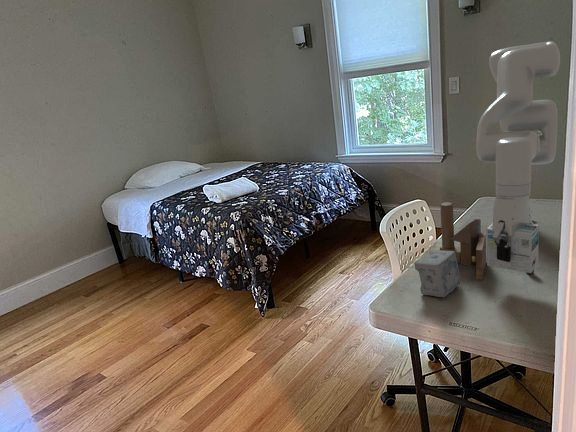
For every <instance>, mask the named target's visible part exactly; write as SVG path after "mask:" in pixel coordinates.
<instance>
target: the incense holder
mask: <svg viewBox="0 0 576 432" xmlns="http://www.w3.org/2000/svg"><path fill="white" fill-rule="evenodd" d="M414 269H415V271H417V272H418V275H419V279H420V287H419V289H420V293H421V295H424V296H432V297H438V298H446V297H447V296H448V295H449V294H452V293H453V291H454V290H455V288H456V287H457V286H458V285H460V284H461V276H460V270H459V265H458V262H457V259H456V253H455V252H454V251H440V249H439V250H433V249H432V250H430V251H429V254H428V255H426V256H425V257H424V258H422V259H420V260H416V261H415V262H414Z"/></svg>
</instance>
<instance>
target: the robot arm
mask: <svg viewBox="0 0 576 432" xmlns="http://www.w3.org/2000/svg"><path fill="white" fill-rule="evenodd" d="M488 60H489V61H488V65H489V69H490V73H491V75H492V77H493V79H494V81H495V83H496V100H494V101H493V102H492V103H491V104H490V105H489V106H488V107H487V108H486V109H485V111H484V112H483V113H482V115H481V117H480V118H479V120H478V124H477V129H476V143H475V144H476V145H475V149H476V151H475V153H476V156H477V158H478V160H479V161H481V162H484V163H495V200H494V203H493V209H492V210H493V212H492V223H493V225H492V232H493V239H494V241H495V243H496V246H497V259H498V260H502V261H506V262H510V261H511V247H509V244H510V241H511V237H513V236H514V235H515V232H516V231H517V230H519V229H520V228H522V227H524V226H525V225H527V224H534V221H532V220H531V219H532V216H531V214H533V209H531V203H530V202H531V200H530V196H531V193H532V192H531V191H532V189H531V188H532V166H533V165H548V164H550V163H552V162H553V161H554V160H555V158H556V154H557V145H558V142H557V141H558V140H557V139H558V119H559V118H558V107H557V104H556V102H555V101H554V100H551V99H537V100H534V99H533V98H534V80H536V79H538V80H539V79H544V78H551V77H554V76H555V75H556V74H557V73H558V72H559V70H560V66H561V52H560V48H559V46H558V45H557V43H556V42H554V41H552V40H551V41H550V40H549V41H542V42H535V43H531V44H524V45H516V46H511V47H505V48H500V49H498V50H495V51H494V52H492V53H491V54H490V56H489V58H488ZM498 122H499V128H500V130H501V132H500V131H499V132H490V129H492V127H493V126H494V125H495V124H497V123H498ZM536 132H538V133H540V134H537V133H536ZM503 231H506V232H507V233H508V235H506V234H502V233H503ZM501 236H503V237H507V239H506V242H505V241H504V240H503V239H501Z"/></svg>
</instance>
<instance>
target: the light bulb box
mask: <svg viewBox="0 0 576 432" xmlns="http://www.w3.org/2000/svg"><path fill="white" fill-rule="evenodd" d="M492 225H493V222H492V223H491V224H490V225H488V227H486V266H487V267H492V268H493V267H494V268H497V269H505V270H511V271H517V272H521V273H526V272H527V273H532V271H533V270H534V271H535V268H536V267H537V265H538V264H539V238H540V237H539V235H540V234H539V233H540V232H539V231H540V230H539V228H540V227H539V223H538V224H536V223H533V224H527V225H525V226H524V227H522V228H520V229H519V230H517V231H516V232H515V235H514V236H513V237H511V241H510V244H509V247H511V261H510V262H506V261H502V260H498V259H497V246H496V243H495V241H494V239H493V232H492ZM502 234H506V235H508V233H507V232H506V231H503V233H502ZM501 239H503V240H504V241H505V242H506V239H507V237H503V236H501ZM527 273H526V274H527Z"/></svg>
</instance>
